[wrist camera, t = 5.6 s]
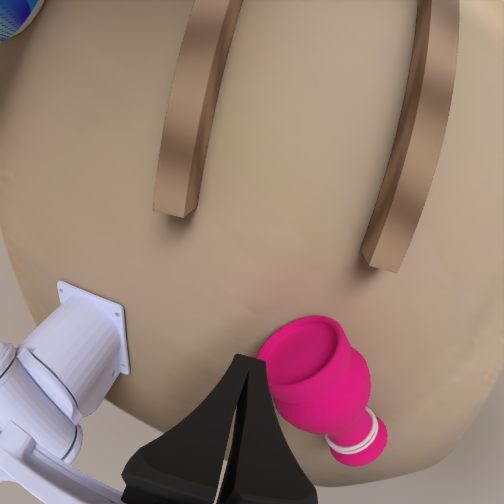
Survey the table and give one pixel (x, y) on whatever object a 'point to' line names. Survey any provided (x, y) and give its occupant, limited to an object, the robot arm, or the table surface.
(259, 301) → the table surface
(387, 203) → the u rest
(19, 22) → the beer can
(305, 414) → the pepper mill
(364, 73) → the table surface
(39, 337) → the robot arm
